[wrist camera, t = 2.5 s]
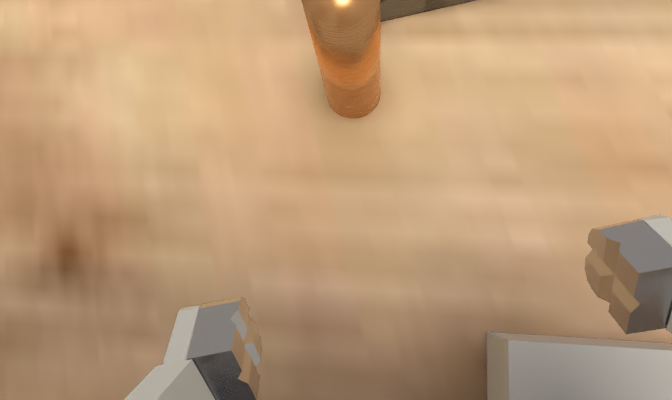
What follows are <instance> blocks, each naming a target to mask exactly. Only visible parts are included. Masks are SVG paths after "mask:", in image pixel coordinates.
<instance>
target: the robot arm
mask: <svg viewBox="0 0 672 400" xmlns="http://www.w3.org/2000/svg"><path fill="white" fill-rule="evenodd" d="M588 244H589V245H590V246H591V247H592V249H593V250H592V251H591V252H590V253H589V254H588V255H587V256H586V259H585V272H586V276H587V280H588V282H589V284H590V286H591V288H592V290H593V291H594V293H595V294H596V295H597V297H599V298H601V299H603V300H605V301H607V302H609V303H610V306H609V313H610V314H611V315H612V317H613V318H614V319H615V321H616V322H617V323H618V324H619V326H620V327H621V328H622V330H623V331H624V332H625V334H631V333H637V332H644V331H650V330H657V329H663V328H667V329H666V330H667V331H669V332H671V333H672V220H670V219H669V218H668V217H666V216H664V215H661V214H660V215H655V216H650V217H646V218H641V219H637V220H633V221H628V222H623V223H618V224H613V225H608V226H603V227H598V228H593V229H592V230H591V231H590V233H589V236H588ZM249 310H250V308H249V306H248V304H247V301H246V299H245V298H242V297H241V298H235V299H229V300H223V301H217V302H212V303H206V304H202V305H197V306H191V307H185V308H182V309H181V310H180V311H179V312H178V314H177V317H176V321H175V324H174V327H173V331H172V334H171V337H170V340H169V344H168V347H167V350H166V354H165V357H164V360H163V363H162V365H158V366H156V367H155V368H154V369H153V370H152V371H151V372H150V373H149V374H148V375H147V376H146V377H145V378H144V379H143V380H142V381H141V382H140V383H139V384H138V385H137V386H136V387H135V388H134V390H133V391H132V392H131V393H130V394H129V395H128V396H127V397H126V398H125V399H124V400H257V398H258V388H259V377H260V376H259V374H258V372H257V369H256V366H257V364H258V363H259V362H260V360H261V352H262V347H261V337H260V333H259V329H258V326H257V324H256V321H254V320H253V319H251V318H249Z"/></svg>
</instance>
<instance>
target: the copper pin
mask: <svg viewBox="0 0 672 400" xmlns="http://www.w3.org/2000/svg"><path fill="white" fill-rule="evenodd" d="M302 4H303V7H304V11H305V15H306V19H307V22H308V26H309V30H310V33H311V37H312V41H313V45H314V48H315V52H316V56H317V60H318V63H319V67H320V71H321V74H322V78H323V82H324V86H325V89H326V93H327V97H328V100H329V103H330V105H331V107H332V108H333V110H334V111H335V112H336V113H338V114H339V115H341V116H344V117H347V118H359V117H363V116H365V115H367V114H369V113H370V112H371V111H372V110H373V109H374V108H375V107H376V106H377V104H378V102H379V99H380V0H302Z"/></svg>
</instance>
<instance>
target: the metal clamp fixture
mask: <svg viewBox="0 0 672 400" xmlns="http://www.w3.org/2000/svg"><path fill="white" fill-rule="evenodd" d="M469 1H473V0H380V22H381V21H385V20H389V19H394V18H398V17H403V16H407V15H412V14H416V13H420V12H425V11H429V10H434V9H438V8H442V7H447V6H451V5H456V4H460V3H465V2H469Z"/></svg>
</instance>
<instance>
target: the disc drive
mask: <svg viewBox="0 0 672 400" xmlns="http://www.w3.org/2000/svg"><path fill="white" fill-rule="evenodd" d="M487 400H672V343H659V342H643V341H628V340H612V339H596V338H580V337H564V336H548V335H532V334H517V333H501V332H487Z"/></svg>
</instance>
